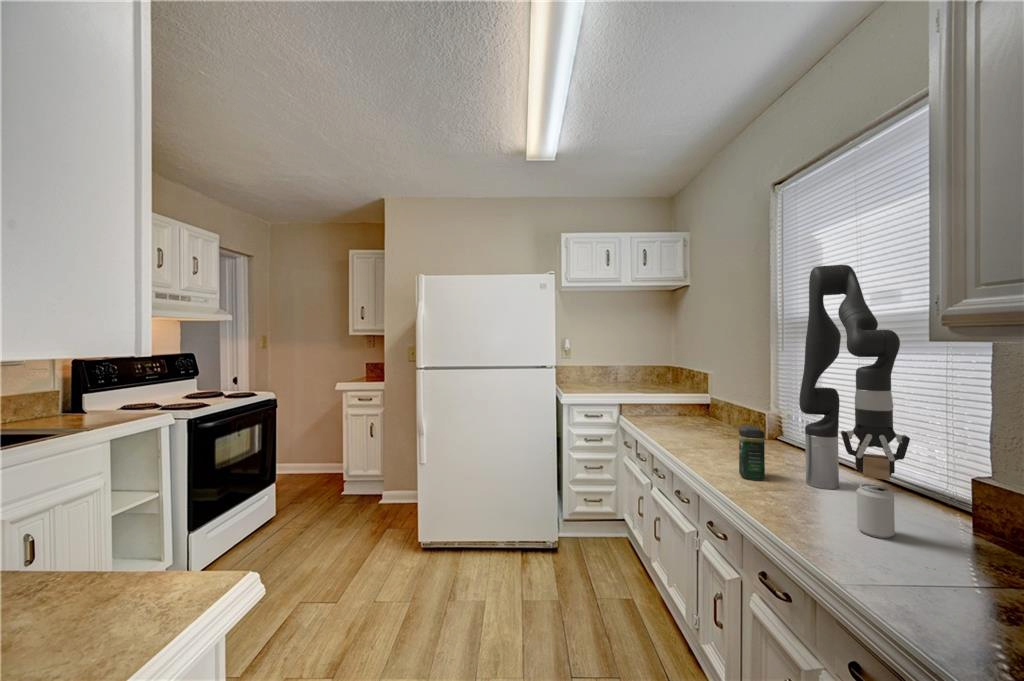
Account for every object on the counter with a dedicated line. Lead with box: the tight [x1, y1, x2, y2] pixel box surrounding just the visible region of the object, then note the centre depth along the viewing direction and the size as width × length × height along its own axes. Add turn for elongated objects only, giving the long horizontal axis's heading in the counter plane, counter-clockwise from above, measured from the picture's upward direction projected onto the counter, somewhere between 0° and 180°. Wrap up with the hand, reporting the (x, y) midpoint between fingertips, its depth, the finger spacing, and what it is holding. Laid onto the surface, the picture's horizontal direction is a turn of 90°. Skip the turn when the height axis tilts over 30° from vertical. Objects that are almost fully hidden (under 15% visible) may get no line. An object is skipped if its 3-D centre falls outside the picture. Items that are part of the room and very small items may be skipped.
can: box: [856, 483, 896, 539], centre depth 112 cm, size 8×8×12 cm
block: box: [861, 452, 891, 481], centre depth 112 cm, size 5×5×5 cm
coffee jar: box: [738, 424, 766, 481], centre depth 159 cm, size 10×8×19 cm
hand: (874, 473), depth 112 cm, fingers closed on block, 5 cm apart
